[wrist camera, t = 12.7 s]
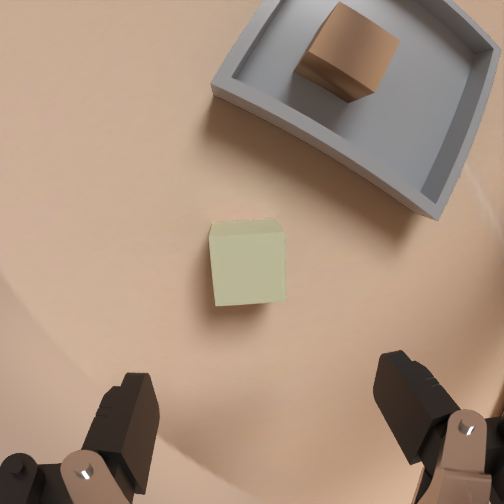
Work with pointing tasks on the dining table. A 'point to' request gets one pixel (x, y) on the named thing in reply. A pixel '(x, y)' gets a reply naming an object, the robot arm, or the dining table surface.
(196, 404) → the dining table surface
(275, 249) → the sage block
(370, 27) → the walnut block
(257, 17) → the tray
